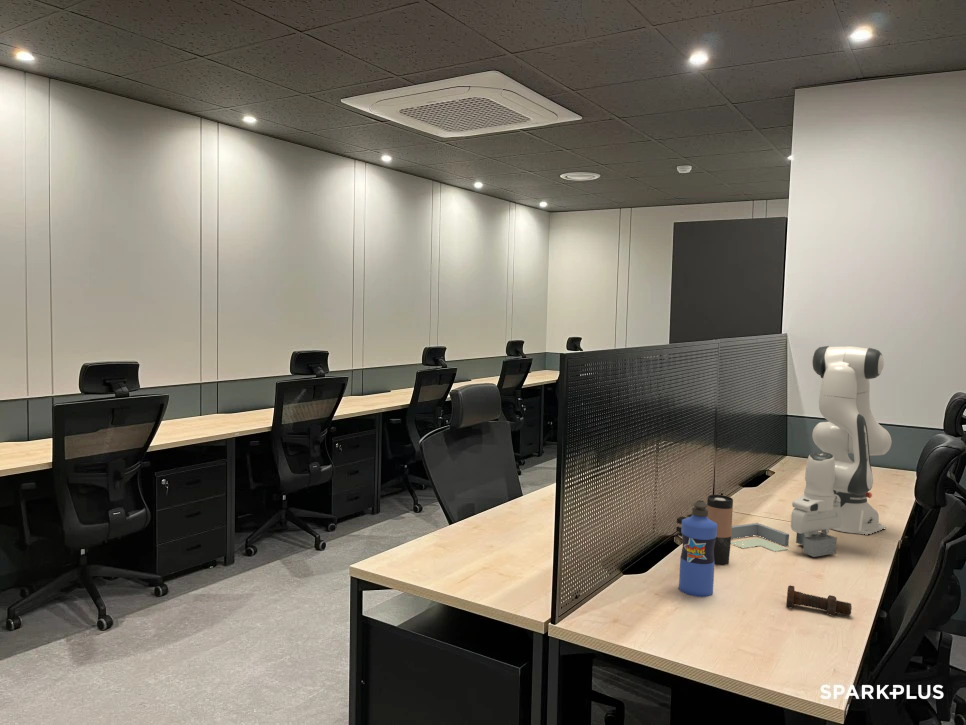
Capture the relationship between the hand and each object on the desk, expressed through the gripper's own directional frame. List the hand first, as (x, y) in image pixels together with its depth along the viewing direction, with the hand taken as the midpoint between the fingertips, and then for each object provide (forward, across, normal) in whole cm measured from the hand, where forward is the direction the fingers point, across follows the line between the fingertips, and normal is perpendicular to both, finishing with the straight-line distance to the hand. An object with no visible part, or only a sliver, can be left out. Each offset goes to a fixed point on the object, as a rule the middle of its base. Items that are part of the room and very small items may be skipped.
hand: (815, 543), depth 227 cm
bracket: (+2, +3, 0) cm, 3 cm away
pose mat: (+2, +15, -10) cm, 18 cm away
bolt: (+2, +41, +35) cm, 54 cm away
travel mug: (+2, +39, -4) cm, 40 cm away
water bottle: (+2, +62, +12) cm, 64 cm away
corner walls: (+3, +14, -13) cm, 19 cm away
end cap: (+3, +28, -27) cm, 39 cm away
